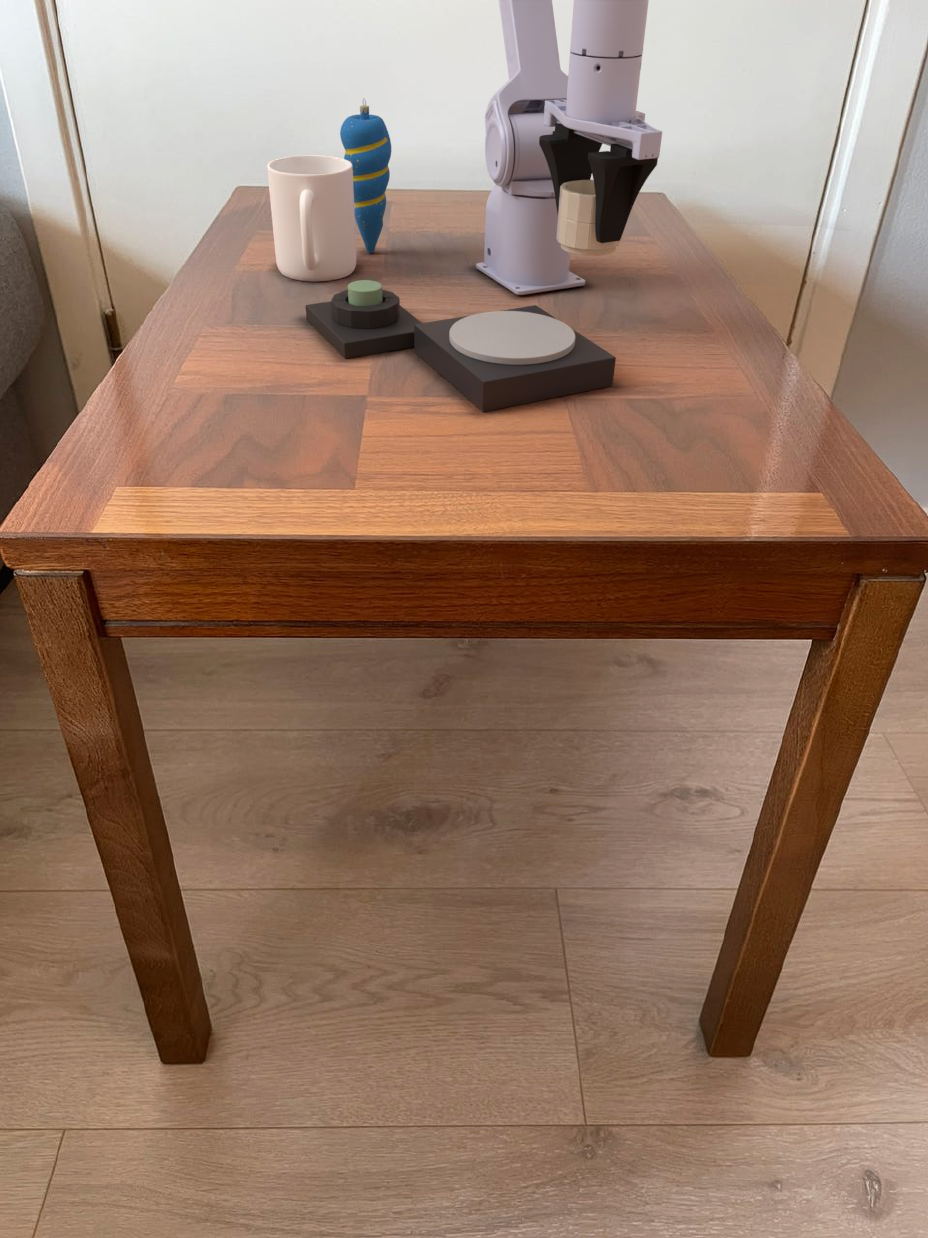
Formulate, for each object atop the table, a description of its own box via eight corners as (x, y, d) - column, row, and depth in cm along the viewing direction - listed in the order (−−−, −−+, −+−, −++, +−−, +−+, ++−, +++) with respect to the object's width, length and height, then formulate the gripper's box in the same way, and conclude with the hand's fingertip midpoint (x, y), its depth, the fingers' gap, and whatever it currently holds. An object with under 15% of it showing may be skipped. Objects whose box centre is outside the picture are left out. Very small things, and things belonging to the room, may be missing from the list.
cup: (358, 257, 105) (354, 155, 99) (353, 295, 96) (348, 185, 89) (281, 256, 105) (272, 153, 99) (268, 294, 95) (256, 184, 89)
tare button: (343, 299, 87) (342, 282, 86) (374, 295, 88) (374, 278, 87) (355, 310, 85) (355, 293, 84) (387, 305, 86) (387, 288, 85)
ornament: (357, 261, 104) (349, 104, 95) (339, 248, 107) (330, 95, 98) (401, 255, 106) (398, 101, 97) (382, 242, 109) (377, 92, 100)
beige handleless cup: (544, 242, 87) (548, 182, 84) (597, 235, 89) (603, 176, 86) (578, 260, 83) (583, 198, 80) (632, 252, 85) (639, 191, 82)
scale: (414, 352, 85) (413, 317, 83) (534, 331, 89) (536, 297, 87) (482, 412, 75) (483, 374, 74) (612, 386, 80) (617, 349, 78)
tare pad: (306, 319, 90) (303, 287, 88) (386, 307, 93) (385, 275, 91) (345, 358, 83) (343, 324, 81) (430, 344, 86) (430, 311, 84)
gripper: (703, 63, 73) (676, 248, 82) (598, 39, 84) (583, 205, 92) (626, 68, 71) (606, 259, 79) (526, 42, 81) (518, 213, 89)
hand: (589, 231), depth 85 cm, fingers closed on beige handleless cup, 5 cm apart
